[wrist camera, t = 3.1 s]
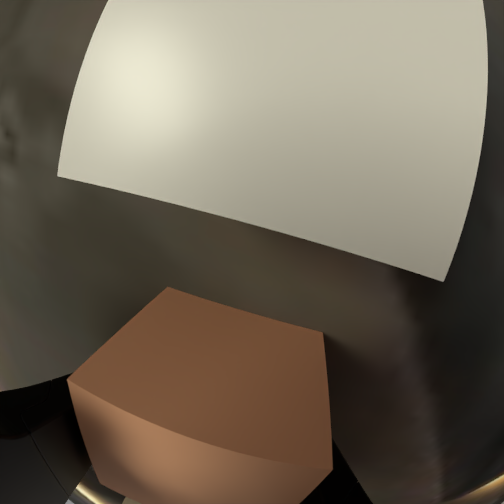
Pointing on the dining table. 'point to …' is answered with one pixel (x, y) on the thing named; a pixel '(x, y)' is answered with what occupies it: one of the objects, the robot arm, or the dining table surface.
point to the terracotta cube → (206, 406)
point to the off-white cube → (292, 117)
